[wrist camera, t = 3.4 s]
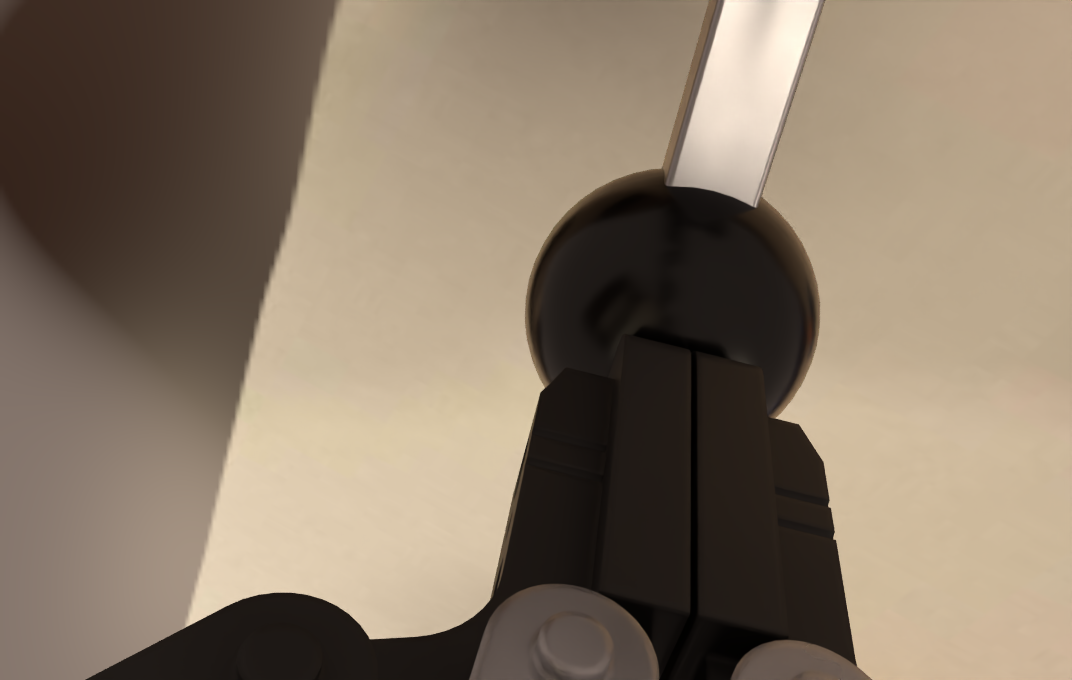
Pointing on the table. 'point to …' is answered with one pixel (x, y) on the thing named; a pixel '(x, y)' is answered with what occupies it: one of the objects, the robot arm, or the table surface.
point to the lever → (694, 224)
